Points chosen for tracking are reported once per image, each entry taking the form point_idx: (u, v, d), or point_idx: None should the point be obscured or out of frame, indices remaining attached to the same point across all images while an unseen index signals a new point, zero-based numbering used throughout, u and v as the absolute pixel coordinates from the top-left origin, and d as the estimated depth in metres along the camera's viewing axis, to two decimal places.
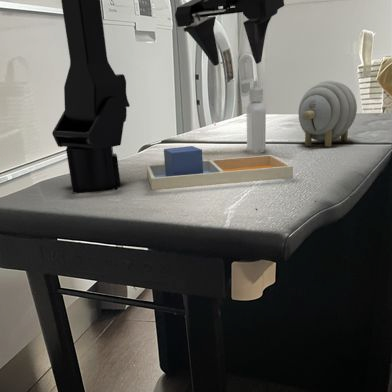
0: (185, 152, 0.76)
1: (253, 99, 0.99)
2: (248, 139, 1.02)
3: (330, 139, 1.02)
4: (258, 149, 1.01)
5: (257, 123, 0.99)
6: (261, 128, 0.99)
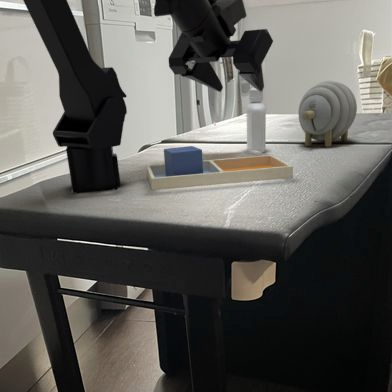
0: (185, 152, 0.76)
1: (253, 99, 0.99)
2: (248, 139, 1.02)
3: (330, 139, 1.02)
4: (258, 149, 1.01)
5: (257, 123, 0.99)
6: (261, 128, 0.99)
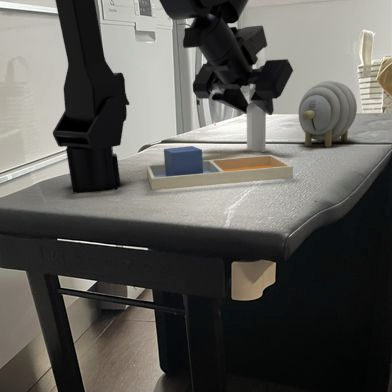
0: (185, 152, 0.76)
1: None
2: (248, 139, 1.02)
3: (330, 139, 1.02)
4: (258, 149, 1.01)
5: (257, 123, 0.99)
6: (261, 128, 0.99)
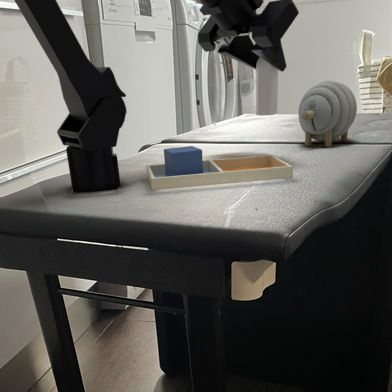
0: (185, 152, 0.76)
1: None
2: None
3: (330, 139, 1.02)
4: (264, 111, 0.88)
5: (264, 80, 0.86)
6: (268, 86, 0.86)
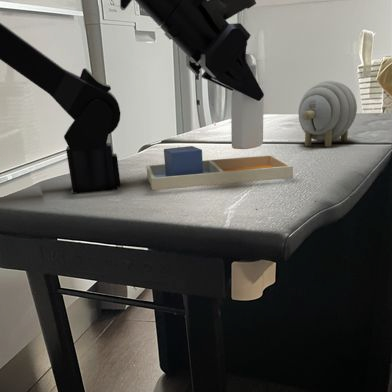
0: (185, 152, 0.76)
1: None
2: None
3: (330, 139, 1.02)
4: (237, 144, 0.78)
5: (236, 110, 0.76)
6: (240, 117, 0.76)
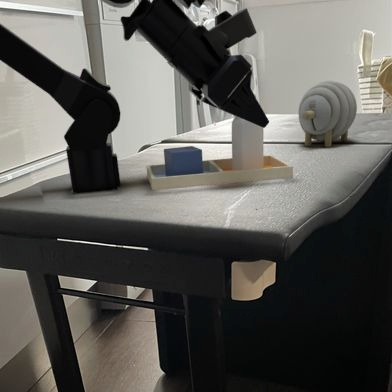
0: (185, 152, 0.76)
1: None
2: None
3: (330, 139, 1.02)
4: None
5: (236, 139, 0.78)
6: (240, 145, 0.78)
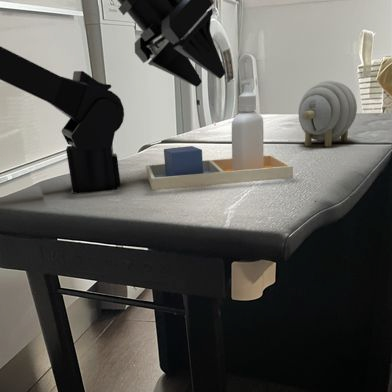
0: (185, 152, 0.76)
1: (240, 107, 0.77)
2: None
3: (330, 139, 1.02)
4: None
5: (236, 139, 0.78)
6: (240, 145, 0.78)
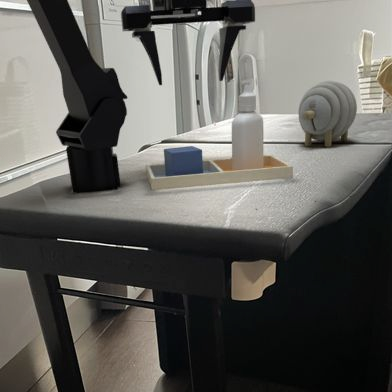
0: (185, 152, 0.76)
1: (240, 107, 0.77)
2: None
3: (330, 139, 1.02)
4: None
5: (236, 139, 0.78)
6: (240, 145, 0.78)
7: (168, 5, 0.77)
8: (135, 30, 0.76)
